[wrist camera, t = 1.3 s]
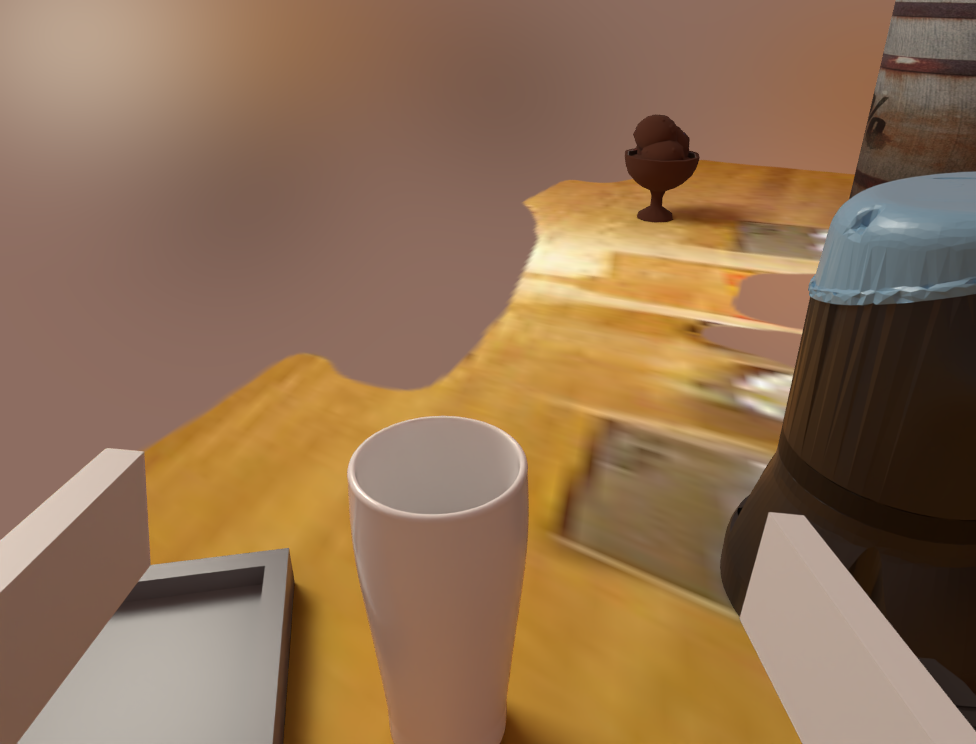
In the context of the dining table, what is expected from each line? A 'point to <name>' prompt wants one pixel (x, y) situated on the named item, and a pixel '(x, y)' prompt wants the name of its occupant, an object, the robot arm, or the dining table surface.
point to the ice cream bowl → (659, 162)
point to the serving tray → (184, 660)
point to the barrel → (923, 95)
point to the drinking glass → (441, 571)
